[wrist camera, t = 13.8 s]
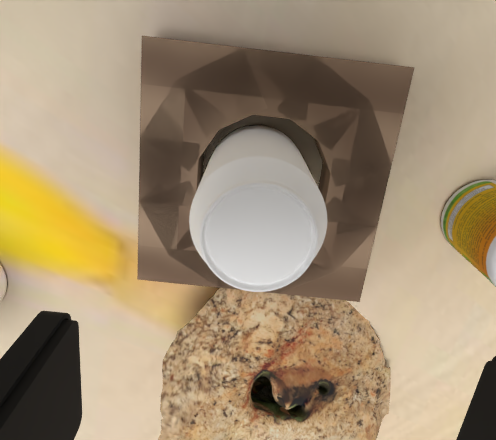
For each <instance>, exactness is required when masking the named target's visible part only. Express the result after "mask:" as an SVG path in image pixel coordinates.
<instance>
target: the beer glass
mask: <svg viewBox="0 0 496 440" xmlns="http://www.w3.org/2000/svg"><path fill="white" fill-rule="evenodd" d="M6 289H7V279H6V274H5V272H4V269H3V267H2V266H1V264H0V302H1V300H2V299H3V297H4V295H5V293H6Z"/></svg>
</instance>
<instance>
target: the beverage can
mask: <svg viewBox="0 0 496 440" xmlns="http://www.w3.org/2000/svg"><path fill="white" fill-rule="evenodd" d="M189 226H190V233H191V237H192V240H193V243H194V246H195V248H196V250H197V251H198V253H199V255H200V256H201V258H202V259H203V260H204V261H205V262H206V264H207V265H208V267H209V268H210V269H211V271H212V272H213V273H214V274H215V275H216V276H217V277H218V278H220V279H221V280H222V281H224V282H225V283H227V284H229V285H231V286H233V287H235V288H238V289H241V290H245V291H251V292H266V291H272V290H276V289H279V288H282V287H284V286H287V285H289V284H290V283H292V282H294V281H295V280H296V279H298V278H299V277H300V276H301V275H302V274H303V273H304V272H305V271H306V270H307V268H308V267H309V266H310V264H311V262H312V261H313V259H314V258H315V256H316V255H317V254H318V252H319V250H320V248H321V246H322V244H323V241H324V239H325V235H326V230H327V211H326V206H325V202H324V199H323V197H322V194H321V192H320V190H319V188H318V186H317V184H316V182H315V180H314V179H313V177H312V175H311V173H310V171H309V169H308V167H307V165H306V163H305V161H304V159H303V157H302V155H301V153H300V152H299V150H298V148H297V147H296V145H295V144H294V143H293V141H292V140H291V139H290V138H289V137H288V136H286V135H285V134H284V133H282V132H280V131H279V130H276V129H274V128H271V127H268V126H262V125H251V126H245V127H242V128H239V129H237V130H235V131H233V132H231V133H230V134H228V135H227V136H226V137H224V138H223V139H222V140H221V142H220V143H219V144H218V145H217V147H216V148H215V150H214V152H213V154H212V156H211V158H210V161H209V163H208V165H207V168H206V170H205V172H204V175H203V177H202V179H201V182H200V184H199V186H198V189H197V191H196V194H195V196H194V199H193V201H192V205H191V209H190V216H189Z"/></svg>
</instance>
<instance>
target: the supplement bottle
mask: <svg viewBox="0 0 496 440" xmlns="http://www.w3.org/2000/svg"><path fill="white" fill-rule="evenodd" d="M441 228H442V232H443V234H444V237H445V238H446V240H447V241H448V242H449V243H450V244H451V245H452V246H453V247H454V248H455V249H456V250H457V251H458V252H459V253H460V254H461V255H462V256H463V257H465V258H466V259H467V260H468V261H469V262H470V263H471V264H472V265H473V266H474V267H475V268H477V269H478V270H479V271H480V272H481V273H482V274H483V275H484V276H485V277H486V278H487V279H488V280H489V281H490V282H491V283H492V284H493V285H495V286H496V181H495V180H480V181H476V182H472V183H470V184H468V185H465V186H464V187H462V188H460V189H459V190H458V191H456V192H455V193H454V194H453V195H452V196H451V197H450V199H449V200H448V202H447V203H446V205H445V207H444V209H443V212H442V216H441Z"/></svg>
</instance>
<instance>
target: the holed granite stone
mask: <svg viewBox="0 0 496 440" xmlns="http://www.w3.org/2000/svg"><path fill="white" fill-rule="evenodd" d="M384 365H385V360H384V357H383V352H382V350H381V348H380V341H379V339H378V337H377V336H376V334H375V332H374V330H373V329H372V327H371V326H370V323H369V321H368V320H367V319H365V318H364V317H363V316H362V315H361V314H360V313H359V312H358V311H357V310H356V309H355V308H354V307H353V306H352V305H351V304H349V303H348V302H347V301H346V300H337V299H327V298H317V297H307V296H297V295H287V294H277V293H268V292H251V291H245V290H238V289H228V288H220V289H218V290H217V292H216V293H215V294H214V296H213V297H212V298H210V299H209V300H208V302H207V303H206V304H205V306H204V307H203V308H202V309H201V310H200V311H199V312H198V313H197V315H196V317H195V318H193V319H192V320H191V321H190V322H189V323H188V324H187V325H186V326H184V328H182V329H180V330H179V331H178V332H177V336H176V339H175V340H174V342H173V343H172V344H171V346H170V348H169V350H168V351H167V353H166V355H165V357H164V359H163V368H162V372H163V389H162V394H161V407H160V410H161V414H162V417H163V419H161V428H162V429H161V435H160V436H159V438H158V440H376V438H377V435H378V432H379V428H380V425H381V422H382V419H383V418H384V416H385V415H386V414H388V412H389V399H390V367H389V368H387V367H385V366H384Z"/></svg>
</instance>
